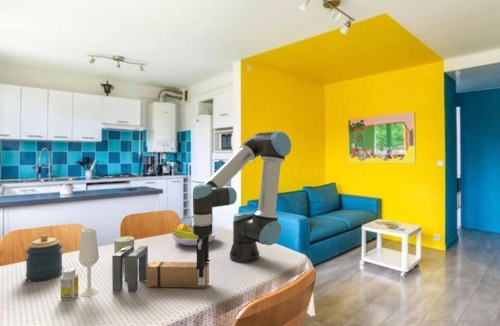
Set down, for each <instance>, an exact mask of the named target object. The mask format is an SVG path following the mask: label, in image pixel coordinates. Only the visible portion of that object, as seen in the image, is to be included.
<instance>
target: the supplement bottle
mask: <svg viewBox="0 0 500 326" xmlns="http://www.w3.org/2000/svg"><path fill="white" fill-rule="evenodd" d="M76 271H77V270H76V268H75V267H69V268H65V269H64V270H62V275H61V276H60V280H59V281H60V282H59V283H60V299H61V300H62V301H71V300H74V299H76V298H77V297H78V296H79V274H78V273H77V272H76Z"/></svg>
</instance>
